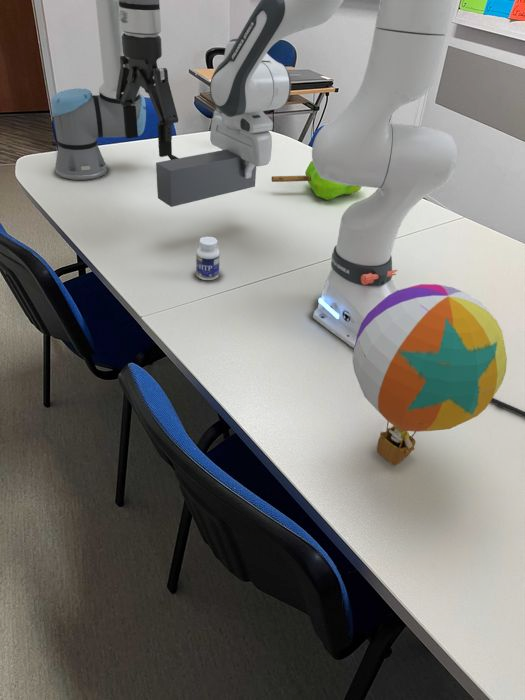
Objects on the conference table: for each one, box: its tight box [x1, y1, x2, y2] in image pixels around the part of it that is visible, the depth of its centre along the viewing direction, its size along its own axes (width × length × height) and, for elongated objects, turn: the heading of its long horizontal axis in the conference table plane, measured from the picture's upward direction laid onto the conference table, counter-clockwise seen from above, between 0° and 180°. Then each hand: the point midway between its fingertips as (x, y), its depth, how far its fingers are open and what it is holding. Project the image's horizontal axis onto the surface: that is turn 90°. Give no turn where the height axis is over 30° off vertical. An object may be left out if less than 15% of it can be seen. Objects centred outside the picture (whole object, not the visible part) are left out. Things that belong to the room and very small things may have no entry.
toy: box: [352, 283, 508, 467], centre depth 73 cm, size 20×20×30 cm
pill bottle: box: [195, 236, 221, 281], centre depth 118 cm, size 5×5×9 cm
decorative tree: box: [271, 160, 363, 201], centre depth 161 cm, size 18×10×30 cm
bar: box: [155, 149, 257, 208], centre depth 127 cm, size 26×6×9 cm, turn 130°
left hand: (148, 146), depth 113 cm, fingers open, 13 cm apart
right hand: (238, 172), depth 132 cm, fingers closed on bar, 6 cm apart
